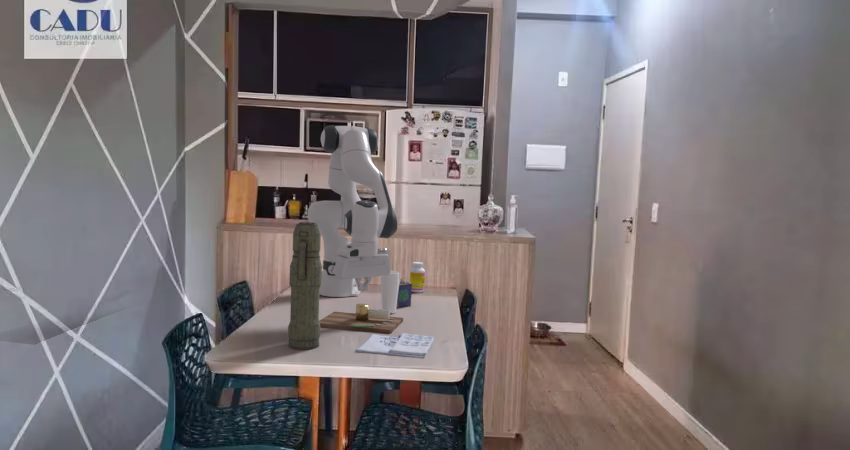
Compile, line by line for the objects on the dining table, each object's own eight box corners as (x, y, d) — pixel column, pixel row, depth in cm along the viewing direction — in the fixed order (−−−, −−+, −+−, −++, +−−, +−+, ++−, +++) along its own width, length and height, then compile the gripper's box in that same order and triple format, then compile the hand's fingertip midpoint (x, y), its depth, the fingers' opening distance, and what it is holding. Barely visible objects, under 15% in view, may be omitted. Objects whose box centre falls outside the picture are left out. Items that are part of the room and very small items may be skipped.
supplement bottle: (424, 293, 245) (425, 264, 244) (408, 292, 245) (410, 263, 244) (424, 290, 252) (425, 262, 251) (409, 289, 252) (410, 261, 251)
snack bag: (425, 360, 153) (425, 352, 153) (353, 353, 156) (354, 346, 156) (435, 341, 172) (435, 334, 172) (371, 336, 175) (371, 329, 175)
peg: (353, 320, 187) (354, 305, 187) (358, 317, 191) (358, 303, 191) (387, 323, 185) (387, 308, 185) (390, 320, 189) (391, 306, 189)
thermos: (284, 351, 154) (288, 223, 151) (290, 339, 165) (293, 221, 163) (317, 351, 155) (321, 225, 152) (321, 339, 166) (324, 222, 164)
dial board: (334, 314, 198) (334, 310, 198) (403, 321, 193) (403, 316, 193) (315, 326, 181) (315, 322, 181) (390, 334, 176) (390, 329, 176)
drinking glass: (395, 315, 202) (397, 273, 201) (377, 313, 203) (378, 272, 202) (400, 311, 208) (401, 271, 207) (382, 309, 210) (384, 269, 209)
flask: (394, 309, 212) (395, 280, 211) (389, 307, 214) (390, 279, 213) (412, 306, 218) (413, 278, 218) (407, 304, 220) (408, 277, 220)
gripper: (384, 246, 196) (382, 285, 198) (333, 249, 184) (331, 291, 185) (395, 249, 191) (393, 289, 193) (342, 252, 179) (341, 295, 180)
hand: (362, 290), depth 189 cm, fingers closed
